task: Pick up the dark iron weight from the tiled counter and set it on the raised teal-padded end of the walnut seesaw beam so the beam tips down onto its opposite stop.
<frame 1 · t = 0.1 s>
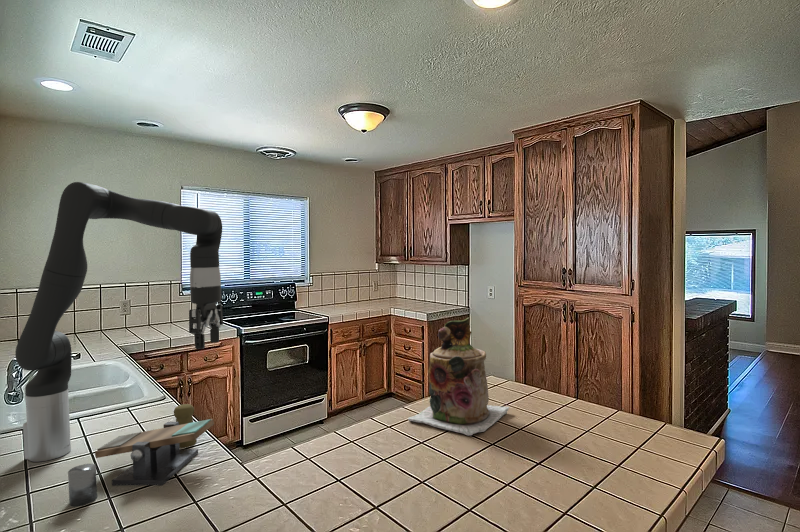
hand: (207, 345, 122), 29 cm above the countertop, tool pointing down, fingers open, 8 cm apart
iron weight: (83, 500, 101), on the countertop
beam: (156, 437, 115), point 8 cm above the countertop, hinge at -10.0°
cookie jar: (459, 418, 145), on the countertop
seesaw stand: (158, 468, 115), on the countertop
olive brown waisted cylinder: (185, 444, 130), on the countertop
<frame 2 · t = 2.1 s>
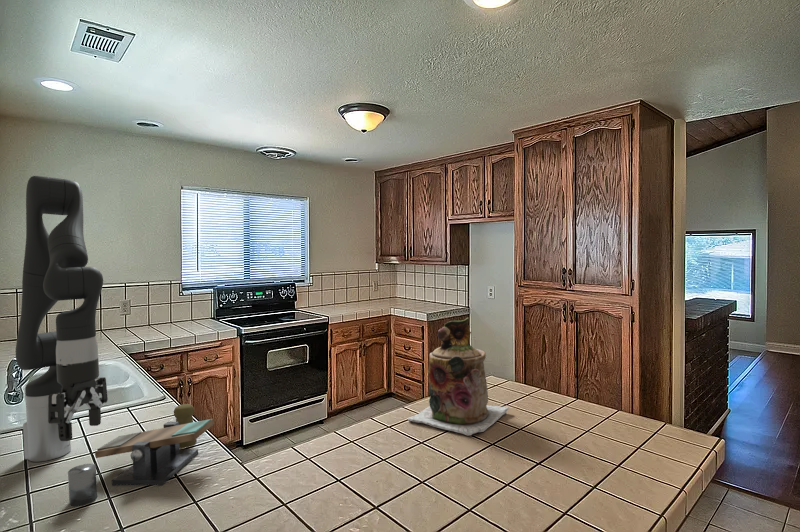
hand: (81, 432, 100), 15 cm above the countertop, tool pointing down, fingers open, 8 cm apart
nothing on the countertop moved.
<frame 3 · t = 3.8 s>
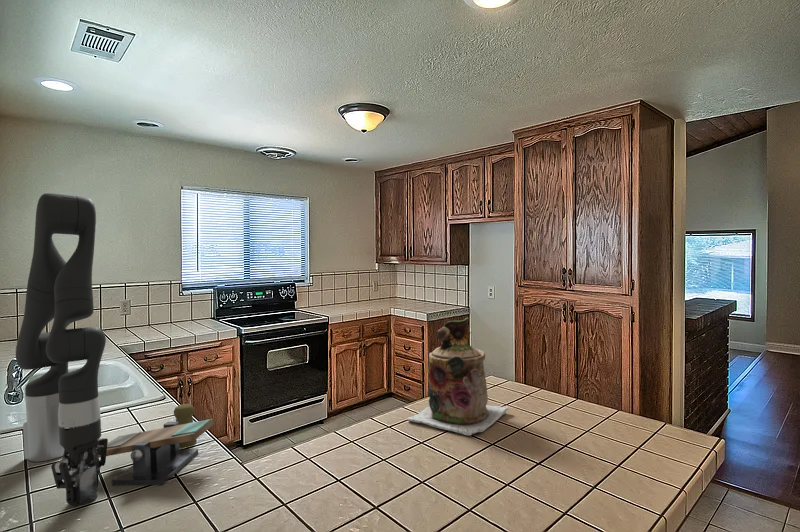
hand: (83, 496, 101), 1 cm above the countertop, tool pointing down, fingers closed on iron weight, 5 cm apart
iron weight: (83, 500, 101), on the countertop, touching gripper
everything else where it was.
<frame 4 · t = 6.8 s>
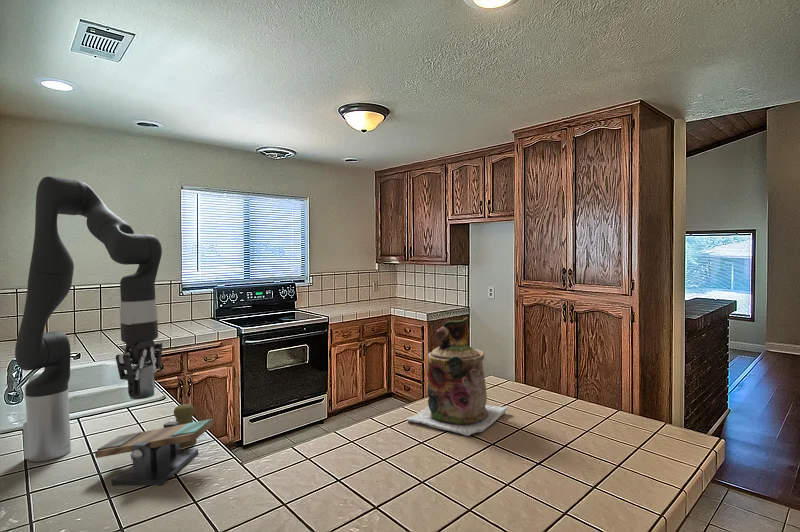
hand: (142, 392, 107), 22 cm above the countertop, tool pointing down, fingers closed on iron weight, 5 cm apart
iron weight: (142, 396, 107), point 21 cm above the countertop, touching gripper
everything else where it was.
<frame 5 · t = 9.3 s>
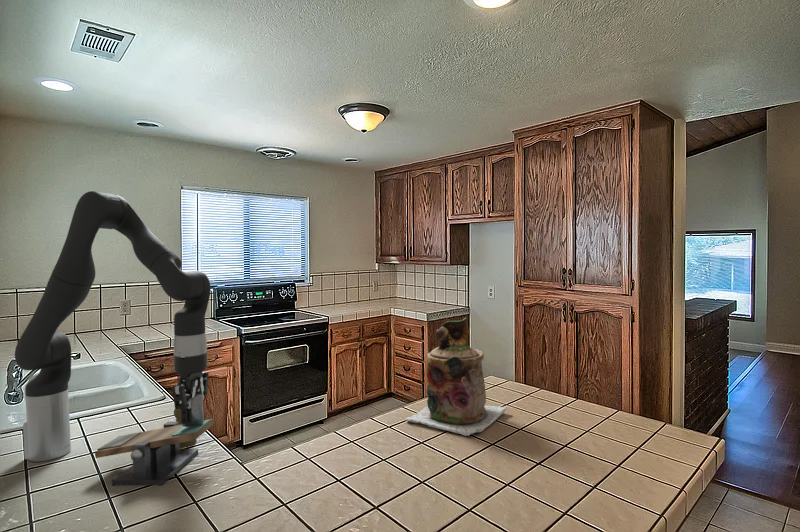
hand: (192, 419, 114), 12 cm above the countertop, tool pointing down, fingers closed on iron weight, 5 cm apart
iron weight: (192, 423, 115), point 11 cm above the countertop, touching gripper
everything else where it was.
when the fingers open (12 cm above the countertop, at t = 10.0 s): iron weight drops 4 cm, resting on beam.
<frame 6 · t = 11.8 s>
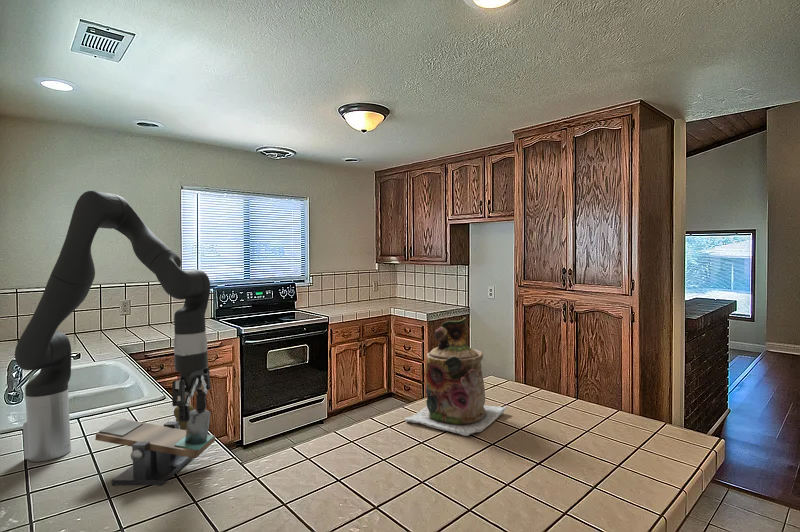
hand: (193, 415, 114), 13 cm above the countertop, tool pointing down, fingers open, 8 cm apart
iron weight: (195, 440, 115), point 7 cm above the countertop, tilted 10°, touching beam
beam: (157, 437, 115), point 8 cm above the countertop, hinge at 10.5°, touching iron weight
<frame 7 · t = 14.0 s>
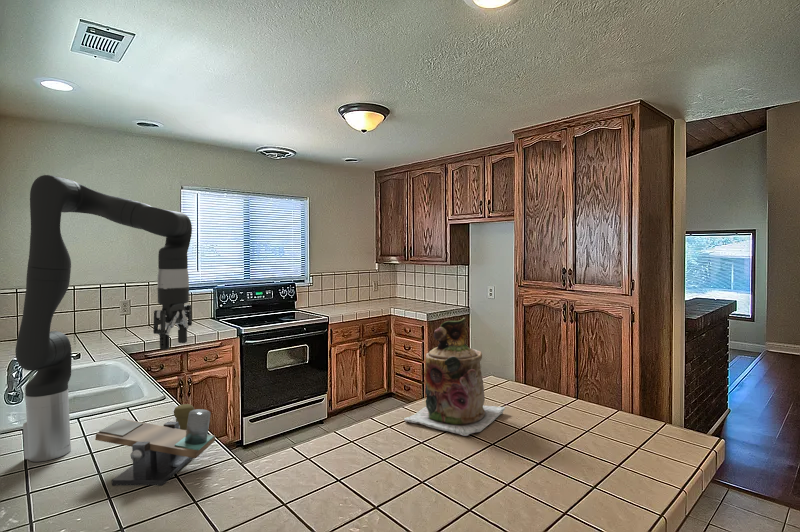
hand: (173, 346, 123), 29 cm above the countertop, tool pointing down, fingers open, 8 cm apart
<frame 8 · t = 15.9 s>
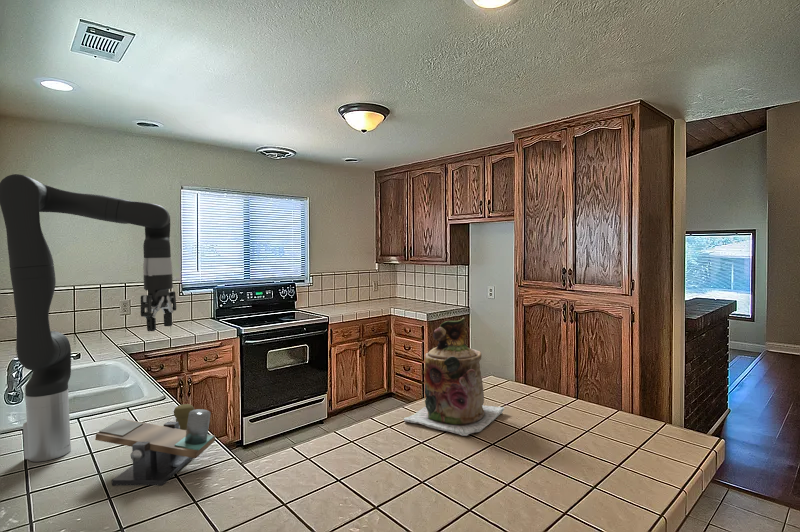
hand: (160, 328, 135), 32 cm above the countertop, tool pointing down, fingers open, 8 cm apart
at the end: beam at +10° (first picture: -10°); iron weight inside the target area (0.4 cm from its centre), point 7.0 cm above the countertop; iron weight tilted 10° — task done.
